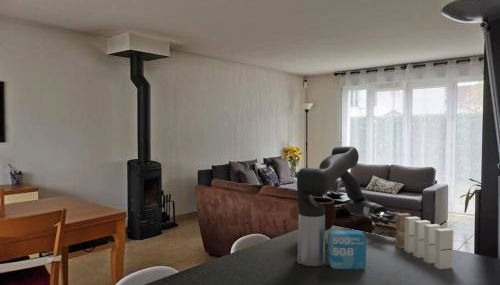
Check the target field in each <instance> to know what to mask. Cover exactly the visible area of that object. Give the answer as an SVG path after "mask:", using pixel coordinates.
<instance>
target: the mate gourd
mask: <svg viewBox="0 0 500 285" xmlns="http://www.w3.org/2000/svg"><path fill="white" fill-rule="evenodd" d="M310 196H311V198H312V199H313V200H315V201H316V202H318V203H320V204H322V205H323V206H324V207H325V232H326V231H329V230H330V229H332V227H333V226H334V224H335V221H336V216H337V214H336V211H337V209H336V204H335V199H333V198H331V197H322V196H313V195H310ZM326 245H327V246H328V235H326V234H325V246H326Z"/></svg>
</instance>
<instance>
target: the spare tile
mask: <svg viewBox="0 0 500 285" xmlns="http://www.w3.org/2000/svg"><path fill="white" fill-rule="evenodd" d="M405 217H412V214H410V213H408V212H405V213H402V214H396V222H395V247H397V248H398V249H403V248H404V246H405Z"/></svg>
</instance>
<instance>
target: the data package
mask: <svg viewBox="0 0 500 285" xmlns="http://www.w3.org/2000/svg"><path fill="white" fill-rule="evenodd" d="M327 236H328V244H327V248H328V249H327V261H328V263H329V266H330V268H332V269H334V270H364V269H365V268H366V266H367V236H366V235H365V234H364V233H363V231H361V230H337V229H336V230H330V231H329V232H328V234H327Z"/></svg>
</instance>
